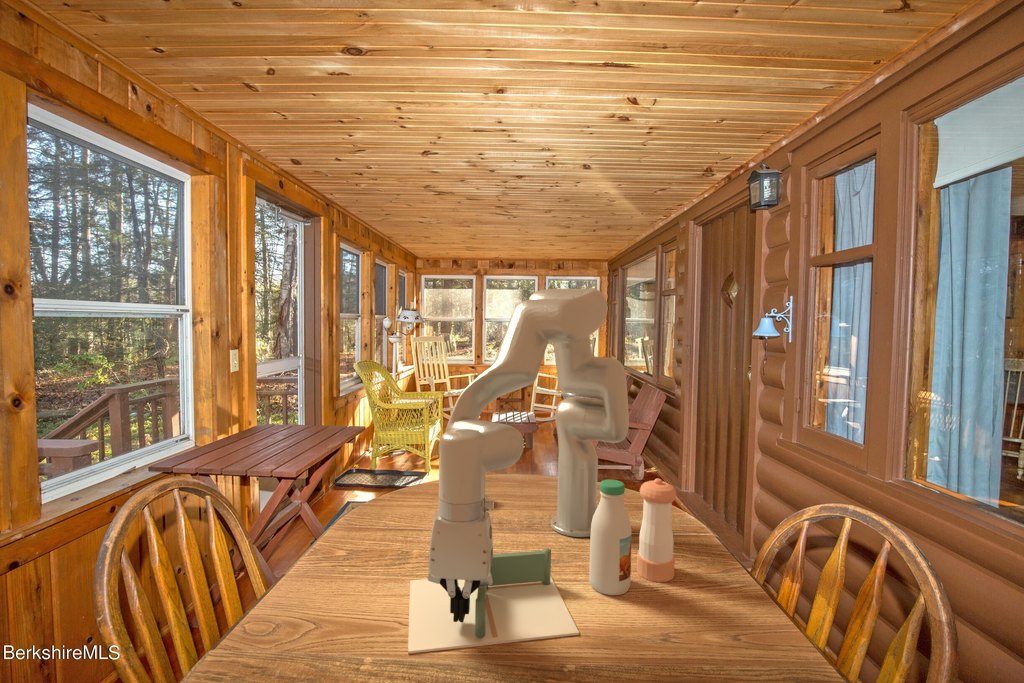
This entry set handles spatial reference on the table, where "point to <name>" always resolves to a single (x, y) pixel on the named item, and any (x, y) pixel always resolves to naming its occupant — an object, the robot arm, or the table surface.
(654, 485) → the salt shaker
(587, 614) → the table surface
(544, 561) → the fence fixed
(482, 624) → the fence panel
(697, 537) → the table surface
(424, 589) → the card
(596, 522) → the milk bottle
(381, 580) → the table surface
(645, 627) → the table surface
